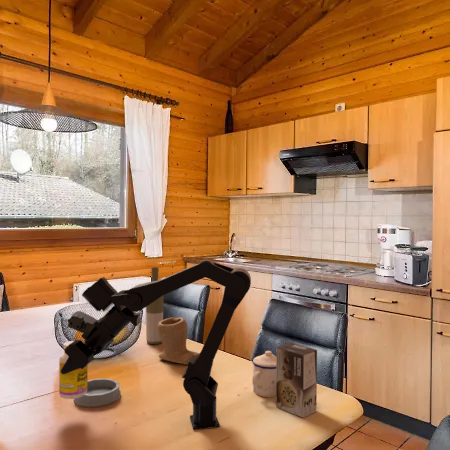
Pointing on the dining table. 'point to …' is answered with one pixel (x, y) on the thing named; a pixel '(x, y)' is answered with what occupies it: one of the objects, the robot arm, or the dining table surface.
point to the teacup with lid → (264, 375)
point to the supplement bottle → (71, 379)
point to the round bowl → (99, 393)
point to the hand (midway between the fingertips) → (68, 367)
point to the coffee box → (296, 379)
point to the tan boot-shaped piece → (174, 340)
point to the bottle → (154, 315)
